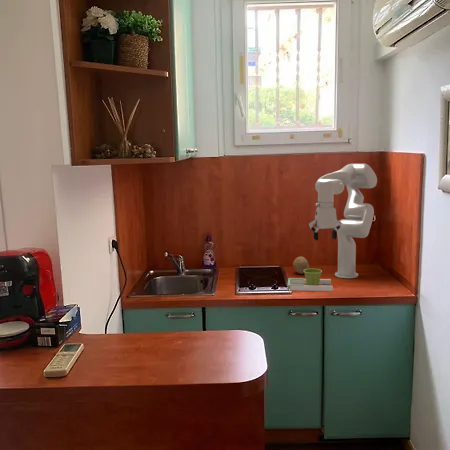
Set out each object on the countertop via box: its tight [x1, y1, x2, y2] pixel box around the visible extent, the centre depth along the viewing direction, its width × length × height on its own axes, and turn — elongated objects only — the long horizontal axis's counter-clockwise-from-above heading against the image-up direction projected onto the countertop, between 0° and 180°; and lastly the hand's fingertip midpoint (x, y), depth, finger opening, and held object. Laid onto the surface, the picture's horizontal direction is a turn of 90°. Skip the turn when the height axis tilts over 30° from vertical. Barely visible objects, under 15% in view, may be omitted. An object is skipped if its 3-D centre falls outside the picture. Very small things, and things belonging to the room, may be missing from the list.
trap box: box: [287, 277, 334, 292], centre depth 238 cm, size 13×22×3 cm, turn 82°
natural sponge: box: [292, 255, 310, 275], centre depth 265 cm, size 9×9×10 cm
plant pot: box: [303, 268, 323, 285], centre depth 237 cm, size 9×9×9 cm
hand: (325, 239), depth 232 cm, fingers open, 9 cm apart
